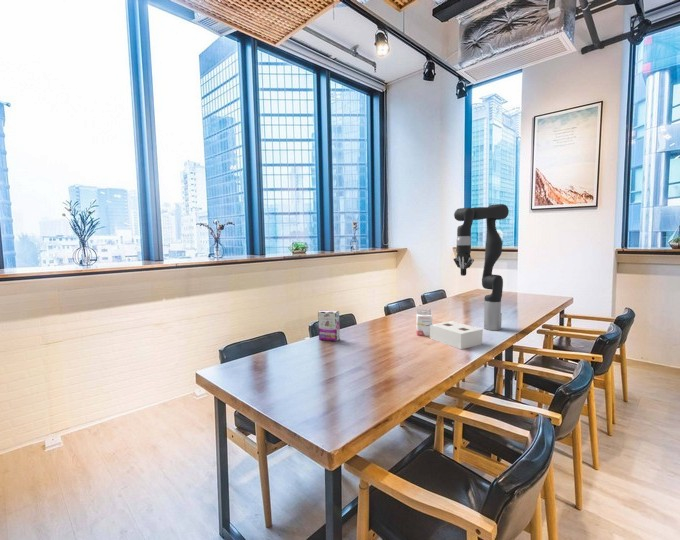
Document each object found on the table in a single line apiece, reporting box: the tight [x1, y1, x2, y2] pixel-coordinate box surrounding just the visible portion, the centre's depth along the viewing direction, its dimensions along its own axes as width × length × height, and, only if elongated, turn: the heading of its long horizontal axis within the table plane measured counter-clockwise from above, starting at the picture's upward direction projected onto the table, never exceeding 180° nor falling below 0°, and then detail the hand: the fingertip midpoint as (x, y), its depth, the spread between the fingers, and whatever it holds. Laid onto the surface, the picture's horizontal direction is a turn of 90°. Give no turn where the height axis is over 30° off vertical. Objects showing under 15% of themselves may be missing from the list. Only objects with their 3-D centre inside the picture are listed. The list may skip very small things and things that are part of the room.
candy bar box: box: [317, 309, 341, 342], centre depth 200 cm, size 11×5×16 cm, turn 68°
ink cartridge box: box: [415, 308, 433, 337], centre depth 206 cm, size 9×5×15 cm, turn 84°
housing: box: [429, 320, 484, 350], centre depth 192 cm, size 16×22×8 cm
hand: (463, 275), depth 197 cm, fingers closed
